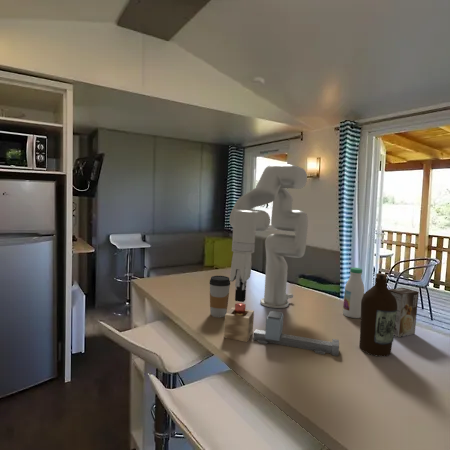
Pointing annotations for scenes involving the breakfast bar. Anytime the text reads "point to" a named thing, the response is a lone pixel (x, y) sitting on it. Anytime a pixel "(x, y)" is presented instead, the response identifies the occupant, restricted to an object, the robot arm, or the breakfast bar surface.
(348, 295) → the milk bottle
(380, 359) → the breakfast bar surface
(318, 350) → the guide rail
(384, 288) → the olive oil
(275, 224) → the robot arm
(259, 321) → the breakfast bar surface
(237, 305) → the button
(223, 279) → the coffee cup
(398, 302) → the coffee box
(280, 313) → the carriage
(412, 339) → the breakfast bar surface
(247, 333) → the small open wooden box
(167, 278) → the breakfast bar surface
